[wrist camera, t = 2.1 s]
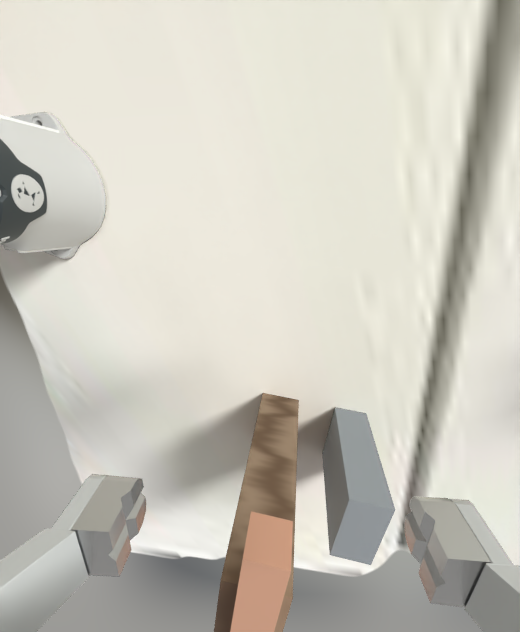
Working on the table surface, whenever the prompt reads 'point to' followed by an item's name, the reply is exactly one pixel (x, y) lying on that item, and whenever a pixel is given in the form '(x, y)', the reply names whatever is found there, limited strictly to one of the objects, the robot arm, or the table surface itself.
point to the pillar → (263, 497)
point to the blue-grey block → (354, 488)
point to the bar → (263, 574)
